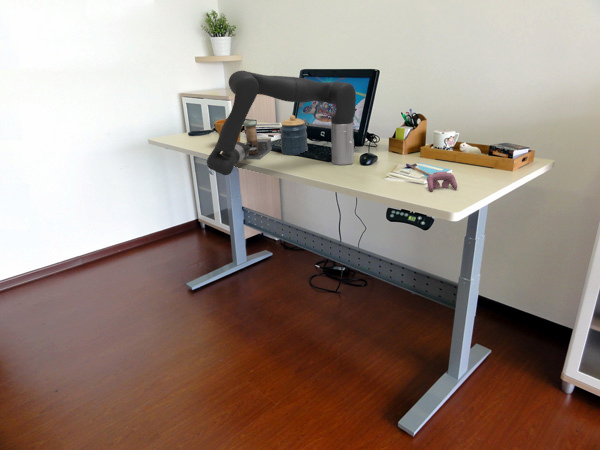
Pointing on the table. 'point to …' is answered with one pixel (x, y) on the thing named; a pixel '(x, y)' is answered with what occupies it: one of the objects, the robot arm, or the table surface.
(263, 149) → the mount
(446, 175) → the video game controller
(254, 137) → the brown capped cylinder
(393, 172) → the table surface
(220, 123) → the flower pot
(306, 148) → the canister
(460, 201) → the table surface
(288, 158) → the table surface
